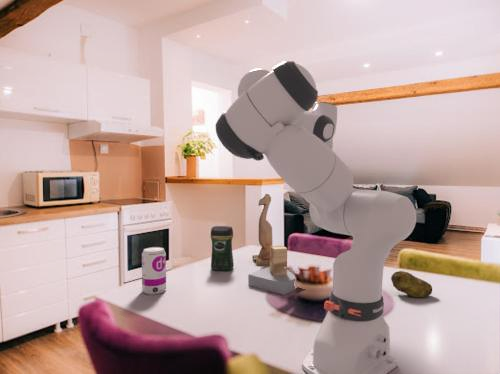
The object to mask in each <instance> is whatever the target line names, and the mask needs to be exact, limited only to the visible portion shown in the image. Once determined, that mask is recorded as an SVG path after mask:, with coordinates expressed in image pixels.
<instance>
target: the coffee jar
mask: <svg viewBox="0 0 500 374" xmlns="http://www.w3.org/2000/svg"><path fill="white" fill-rule="evenodd" d="M210 229H211V230H210V236H209V237H210V239H211V258H210V259H211V260H210V269H211V270H212V271H219V272H220V271H221V272H222V271H224V272H225V271H230V270H233V269H234V266H235V265H234V263H235V262H234V256H233V243H232V241H233V237H234V230H233V227H232V226H226V225H214V226H213V227H211V228H210Z"/></svg>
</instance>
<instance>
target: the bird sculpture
mask: <svg viewBox="0 0 500 374" xmlns="http://www.w3.org/2000/svg"><path fill="white" fill-rule="evenodd" d="M271 201H272V197H271V195H270V194H269V193H266V194H264V196H263V197H262V198H260V199H259V200H258V206H263V208H262V211H261V213H260V216H259V219H258V243H259V245H260V246H261V248H260V250H259V253H258V254H254V255H252V260H255V262H256V266H270V246H273V227H272V225H271V223H270V221H268V219H267V215H268V210H269V207H270V204H271Z"/></svg>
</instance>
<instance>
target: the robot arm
mask: <svg viewBox="0 0 500 374" xmlns="http://www.w3.org/2000/svg"><path fill="white" fill-rule="evenodd" d="M318 95H319V92H318V90H317V84H316V82H315V79H314V77H313V76H312V74H311V72H309V70H308V69H306V68H305V67H304V66H302V65H300V64H298V63H296V62H295V61H293V60H285V61H282V62H281V63H278V64H276V65H275V66H274V67H272V70H271V71H270V70H268V69H264V68H255V69H251V70H250V71H248V72H247V73H246V74H244V75H243V76H242V77H241V79H240V81H239V83H238V86H237V97H238V98H237V99H236V100H234V102H233V103H232V104H231V105H230V106H229V108H228V109H227V110H226V111H223V112H222V114H221V115H220V116H219V118H218V119H217V121H216V123H215V134H216V136H217V138H218V140H219V141H220V143H221V145H222V146H223V147H224V148H225V149H226V150H227V151H228V152H229V153H230V154H232V155H233V156H234V157H238V158H242V159H244V160H245V159H246V160H251V159H252V160H254V161H257V162H258V161H262V160H264V157H265V156H266V159H267V161H268V162H269V164H270V166H271V167H272V169H273V170H274V171H275V173H277V175H278V176H279V177H280V178H281V179H282V180H283V182H284V183H286V184H287V185H288V186H289V188H291V189H292V190H294V191H295V192H296V193H297V194H298V195H299V196H301V198H303V199H304V200H305V201H306V202H307V203H308V204H309V207H308V208H309V209H308V212H309V217H310V219H311V221H312V223H313V224H314V225H315V226H317V227H319V228H320V229H323V230H326V231H328V232H331V233H334V234H340V235H346V236H352V243H351V246H350V249H349V250H346V251H343V252H341V253H340V254H338V255H337V256H336V258H334V261H333V262H332V263H333V264H332V290H331V293H330V296H329V300H325V301H324V304H323V305H324V306H323V309H324V310H326V311H327V313H326V315H325V316H324V319H323V320H322V323H321V324H320V327H319V329H318V331H317V333H316V335H315V338H314V341H313V346H311V349H310V351H309V352H308V354H307V355H306V357H305V358H304V359H303V361H302V363H301V368H302V369H303V370H304V371H305V372H306V374H388V373H390V372H391V371H392V370H394V369H395V368H396V367H397V366H398V361H397V359H396V358H395V357H393V355H391V333H390V330H391V329H390V326H389V325H388V323H387V322H386V320H385V318H384V316H383V314H384V308H385V302H384V296H383V295H382V290H383V289H382V288H383V276H384V268H385V263H386V260H387V257H388V256H389V254H390V252H391V251H392V249H394V247H395V246H397V245H398V244H399V243H400V242H402V241H404V240H406V239H407V238H408V237H409V236H410V235H411V234H412V233H413V231H414V229H415V227H416V224H417V211H416V208H415V205H414V203H413V202H412V201H411V200H410V198H409V197H408V196H405V195H401V194H399V193H395V192H391V191H387V190H373V189H371V190H370V189H361V188H355V187H354V175H353V172H352V170H351V168H350V167H349V166H348V165H347V164H346V163H345V162H344V161H343V160H342V159H341V158H340V157H339V156H338V155H337V154H336V153H335V152H334V150H333V147H334V143H333V142H334V141H333V140H334V136H335V134H336V131H337V124H338V123H337V122H338V107H337V106H336V105H335V104H334V103H331V102H326V101H318ZM309 110H310V111H309ZM264 155H265V156H264Z"/></svg>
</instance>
